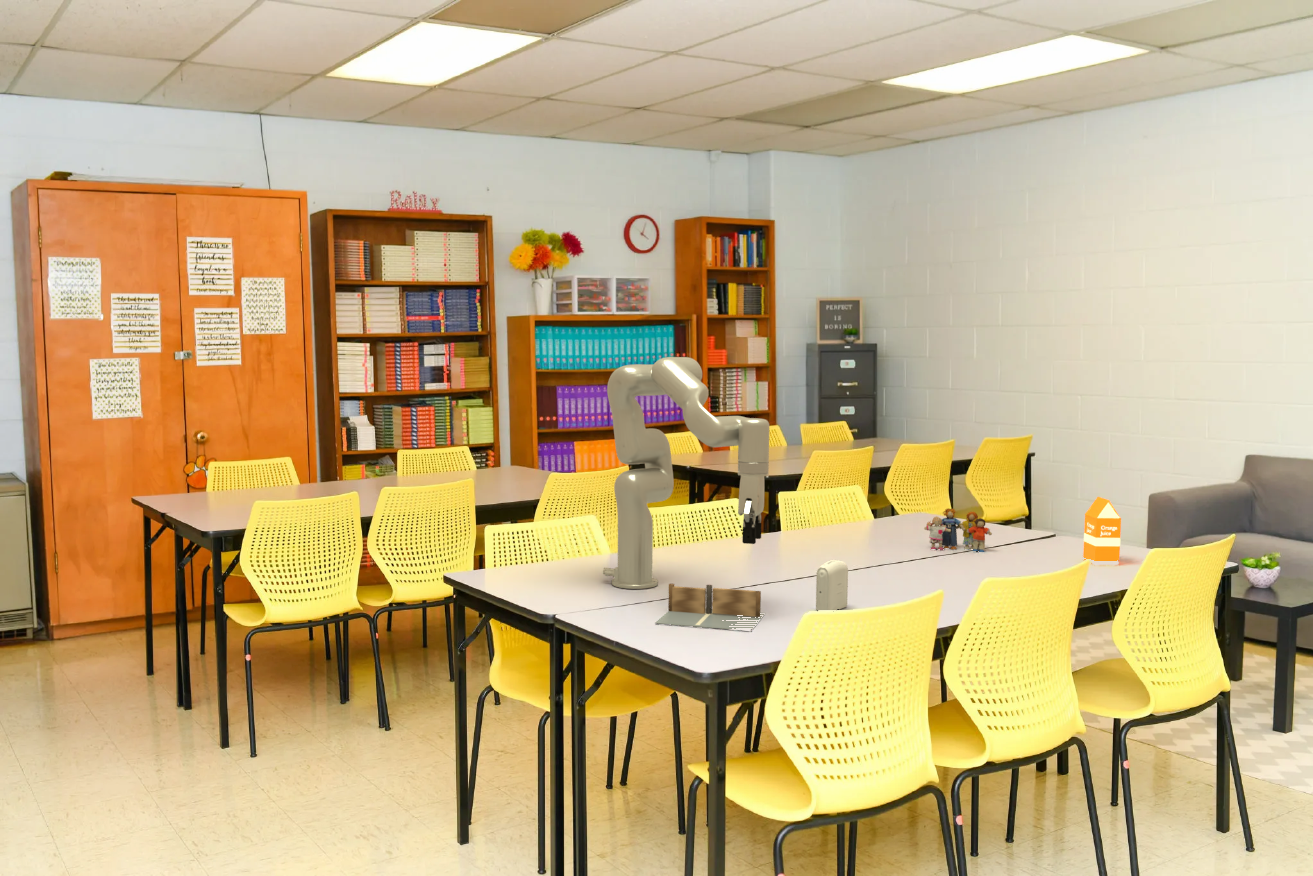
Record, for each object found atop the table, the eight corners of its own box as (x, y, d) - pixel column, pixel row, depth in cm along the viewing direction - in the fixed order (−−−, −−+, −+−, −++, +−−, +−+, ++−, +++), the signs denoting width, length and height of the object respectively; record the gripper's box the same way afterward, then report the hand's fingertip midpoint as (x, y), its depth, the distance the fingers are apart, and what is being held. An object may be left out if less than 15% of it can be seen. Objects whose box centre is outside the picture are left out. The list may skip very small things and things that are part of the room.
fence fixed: (667, 611, 276) (668, 582, 276) (669, 609, 278) (669, 581, 277) (711, 614, 273) (711, 586, 273) (712, 613, 275) (712, 584, 274)
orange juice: (1107, 560, 351) (1110, 496, 349) (1119, 565, 342) (1122, 500, 340) (1082, 560, 351) (1085, 496, 349) (1094, 565, 342) (1097, 500, 340)
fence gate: (712, 613, 273) (712, 588, 273) (713, 611, 275) (713, 587, 274) (759, 616, 270) (760, 592, 270) (760, 615, 271) (761, 591, 271)
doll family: (923, 550, 365) (924, 509, 364) (923, 544, 374) (924, 505, 373) (991, 553, 361) (993, 512, 359) (989, 548, 370) (990, 508, 369)
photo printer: (828, 614, 276) (829, 564, 275) (813, 611, 279) (814, 562, 278) (849, 607, 284) (850, 559, 283) (834, 604, 286) (836, 556, 285)
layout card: (654, 624, 264) (654, 622, 264) (674, 607, 282) (674, 605, 282) (751, 631, 258) (751, 630, 258) (765, 614, 276) (765, 612, 276)
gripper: (745, 464, 285) (743, 534, 286) (730, 472, 268) (729, 546, 270) (774, 465, 283) (773, 536, 284) (762, 473, 266) (760, 547, 268)
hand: (751, 540), depth 277 cm, fingers open, 6 cm apart
